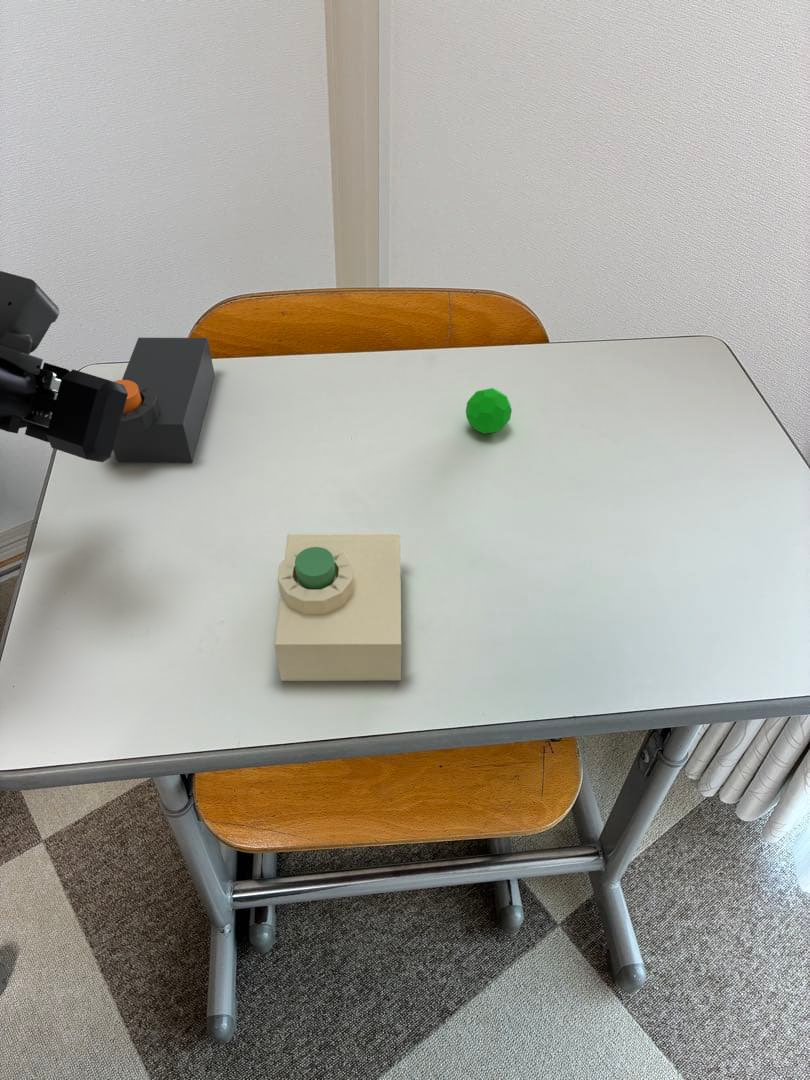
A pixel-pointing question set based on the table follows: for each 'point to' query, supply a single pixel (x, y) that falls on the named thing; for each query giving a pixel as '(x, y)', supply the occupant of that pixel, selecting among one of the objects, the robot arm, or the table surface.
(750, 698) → the table surface
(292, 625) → the box
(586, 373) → the table surface
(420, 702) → the table surface
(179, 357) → the dark gray block
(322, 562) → the power button
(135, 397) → the button
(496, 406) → the polyhedron
